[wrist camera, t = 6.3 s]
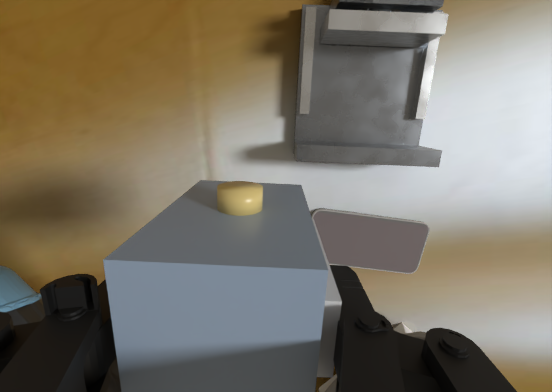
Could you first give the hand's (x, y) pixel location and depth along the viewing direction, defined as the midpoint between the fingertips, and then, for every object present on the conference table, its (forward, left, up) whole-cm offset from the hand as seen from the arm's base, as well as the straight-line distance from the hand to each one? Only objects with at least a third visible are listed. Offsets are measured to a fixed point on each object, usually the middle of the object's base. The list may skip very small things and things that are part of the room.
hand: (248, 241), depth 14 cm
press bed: (+10, +10, -20) cm, 25 cm away
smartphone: (+13, -9, -21) cm, 26 cm away
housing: (0, 0, 0) cm, 0 cm away
